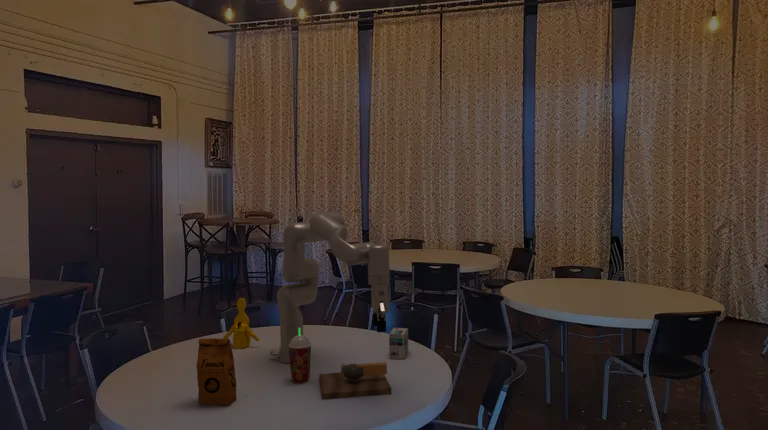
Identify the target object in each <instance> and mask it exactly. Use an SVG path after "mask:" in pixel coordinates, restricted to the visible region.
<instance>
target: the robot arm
mask: <svg viewBox="0 0 768 430" xmlns="http://www.w3.org/2000/svg"><path fill="white" fill-rule="evenodd" d="M348 236H349V231H348V228H347V227H346V222H345V218H344V216H343V215H342V214H341V213H339V212H338V211H337V212H336V211H329V212H328V211H327V212H317V213H314V214H312V216H311V217H310V219H309V221H301V222H293V223H289V224H288V225H286V227H285V228H284V230H283V234H282V242H283V258H282V259H283V261H282V278H283V280H284V281H285V282H287V283H290V284H286V285H283V286H281V287H280V288H279V289H278V290H277V293H276V299H277V304H278V311H279V324H280V325H279V327H280V347H279V348H278V349H271V350H270V351H269V355H270V356H272V357H274V356H275V357H276V356H277V357H276V359H277V361H278V362H279V363H283V364H290V356H289V346H288V345H289V344H290V341H291V340H292V338H293V337H295V336H297V335H299V328H300V335H304V318H303V313H302V312H301V310H300V309H299V307H300V306H305V305H310V304H312V303H314V302H315V301H316V299H317V296H318V289H319V279H320V278H319V276H320V267H319V264H318V262H317V260H316V259H314V258H312V257H305V255H306V254H305V253H306V251H305V247H304V245H303V244H306V243H316V242H317V243H318V242H323V241H326V242H327V243H328V244H329V246H330V249H331V250H330V251H331V252H332V254H333V256H334V257H335V258H336V259H338V260H339V261H340V262H342V263H344V264H345V265H348V266H356V265H362V264H364V265H365V264H367V283H368V285H370V287H371V290H370V291H371V292H370V293H371V295H370V296H371V307H372V310H373V313H372V314H373V317H372V322H373V324H372V325H373V327H376V332H377V333H385V332H387V317H386V313H389V312H390V307H389V306H390V304H389V303H390V302H389V290H388V289H389V288H388V285H389V284H390V248H389V246H388V245H387V244H381V243H378V244H377V243H374V242H369V241H366V242H357V243H348V242H347V238H348Z"/></svg>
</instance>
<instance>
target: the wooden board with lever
mask: <svg viewBox="0 0 768 430" xmlns="http://www.w3.org/2000/svg"><path fill="white" fill-rule="evenodd" d="M346 365H347V364H346V363H340V370H341V371H340V372H328V373H319V375H318V376H319V377H318V378H319V386H320V392H321V393H320V394H321V399H322V400H330V399H331V400H332V399H344V398H345V399H347V398H357V397H360V398H361V397H368V396H369V397H370V396H371V397H372V396H382V395H391V394H392V387H391V385H390V383H389V381H388V379H387V377H386V374H380V375H366V376H362V377H360V378H355V379H351V378H346V377H344V366H346Z"/></svg>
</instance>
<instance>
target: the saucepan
mask: <svg viewBox="0 0 768 430" xmlns="http://www.w3.org/2000/svg"><path fill="white" fill-rule="evenodd" d="M380 374H384V375H387V374H388V364H387V362H386V361H384V362H382V361H381V362H369V363H350V364H346V366H344V377H346V378H351V379H355V378H360V377H362V376H366V375H380Z"/></svg>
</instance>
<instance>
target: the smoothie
mask: <svg viewBox="0 0 768 430" xmlns="http://www.w3.org/2000/svg"><path fill="white" fill-rule="evenodd" d="M288 346H289V356H290V363H289V366H290V367H289V368H290V378H291V379H292V382H294V383H295V384H303V383H306V382H308V381H309V378H310V377H311V374H310V373H311V355H312V354H311V351H312V343H311V342H310V339H309V338H308V337H307V336H306V335H305V334H303V335H300V328H299V335H297V336H295V337H293V338H292V340H291V341H290V344H289V345H288Z"/></svg>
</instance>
